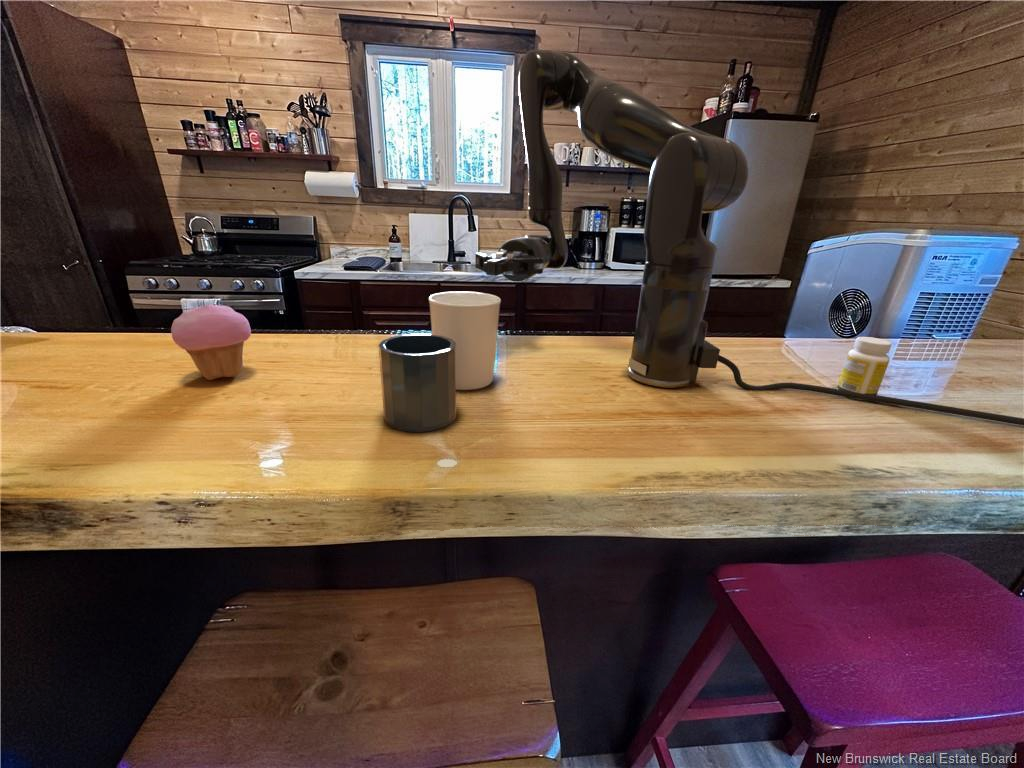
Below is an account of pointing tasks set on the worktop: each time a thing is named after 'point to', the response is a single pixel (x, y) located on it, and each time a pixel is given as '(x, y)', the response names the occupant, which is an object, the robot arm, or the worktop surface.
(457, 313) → the cream tumbler
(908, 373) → the worktop surface
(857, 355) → the supplement bottle
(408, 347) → the cup
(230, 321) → the cupcake
